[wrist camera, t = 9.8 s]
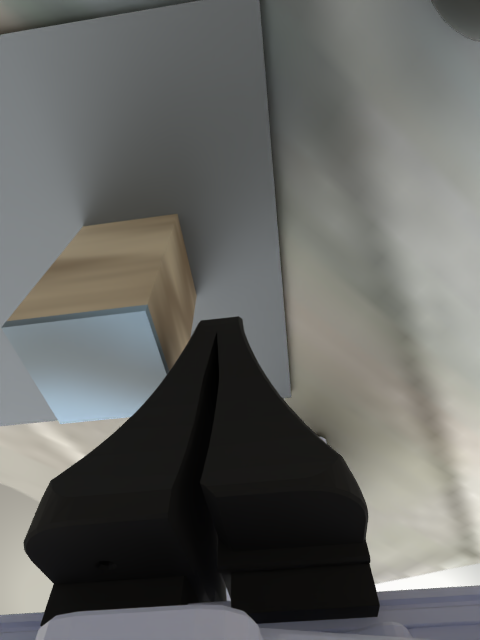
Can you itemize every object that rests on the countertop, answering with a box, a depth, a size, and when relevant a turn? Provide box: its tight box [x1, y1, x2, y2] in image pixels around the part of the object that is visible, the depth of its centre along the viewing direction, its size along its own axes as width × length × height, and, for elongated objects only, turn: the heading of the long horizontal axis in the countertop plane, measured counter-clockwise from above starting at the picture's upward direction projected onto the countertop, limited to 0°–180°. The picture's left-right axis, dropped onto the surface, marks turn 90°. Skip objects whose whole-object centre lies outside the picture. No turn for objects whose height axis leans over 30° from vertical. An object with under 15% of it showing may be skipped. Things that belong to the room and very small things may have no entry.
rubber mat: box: [0, 0, 291, 426], centre depth 18 cm, size 18×22×1 cm
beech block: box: [1, 214, 197, 424], centre depth 14 cm, size 4×4×7 cm
